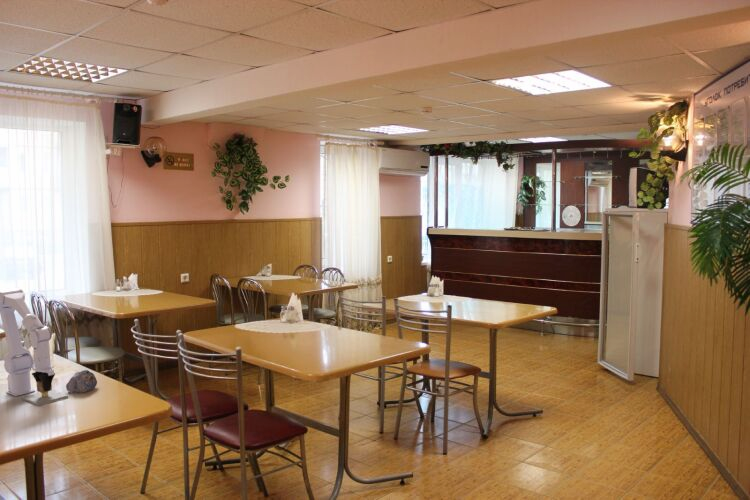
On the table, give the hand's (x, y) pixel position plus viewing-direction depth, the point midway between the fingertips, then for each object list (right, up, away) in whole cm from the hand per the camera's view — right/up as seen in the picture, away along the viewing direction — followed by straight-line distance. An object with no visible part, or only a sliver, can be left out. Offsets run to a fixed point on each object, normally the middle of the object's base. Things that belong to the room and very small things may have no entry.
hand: (44, 389), depth 255 cm
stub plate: (0, -4, 0) cm, 4 cm away
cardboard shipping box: (0, 0, 0) cm, 0 cm away
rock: (+10, -3, +10) cm, 14 cm away
